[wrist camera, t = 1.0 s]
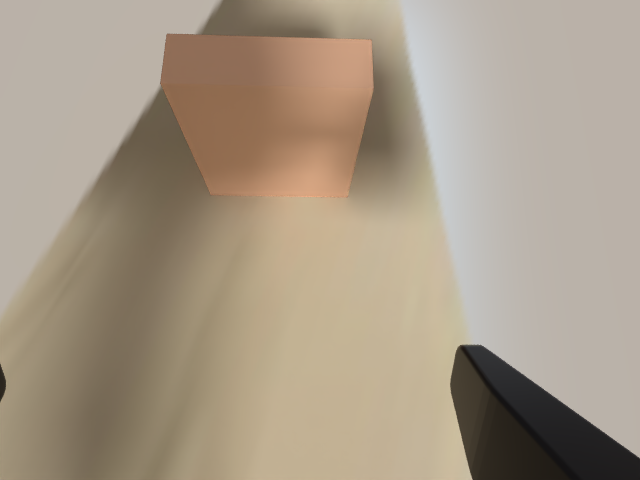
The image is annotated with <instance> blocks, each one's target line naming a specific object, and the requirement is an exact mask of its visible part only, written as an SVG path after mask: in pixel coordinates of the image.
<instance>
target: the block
mask: <svg viewBox="0 0 640 480" xmlns="http://www.w3.org/2000/svg"><path fill="white" fill-rule="evenodd" d="M160 84H161V86H162V88H163V90H164V92H165V95H166V97H167V99H168V101H169V103H170V106H171V108H172V110H173V112H174V114H175V117H176V119H177V121H178V123H179V125H180V128H181V130H182V132H183V134H184V136H185V139H186V141H187V143H188V145H189V147H190V150H191V152H192V154H193V156H194V158H195V161H196V163H197V165H198V167H199V170H200V172H201V174H202V176H203V178H204V181H205V183H206V185H207V187H208V189H209V192H210V194H211V195H234V196H299V197H348V193H349V188H350V184H351V180H352V176H353V172H354V168H355V164H356V160H357V155H358V151H359V147H360V143H361V139H362V135H363V131H364V127H365V122H366V118H367V114H368V110H369V106H370V102H371V98H372V94H373V89H374V84H373V61H372V40H365V39H331V38H297V37H262V36H228V35H193V34H167V35H166V43H165V51H164V59H163V67H162V74H161V82H160Z"/></svg>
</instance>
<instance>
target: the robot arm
mask: <svg viewBox="0 0 640 480" xmlns="http://www.w3.org/2000/svg"><path fill="white" fill-rule="evenodd" d="M450 387H451V394H452V398H453V403H454V407H455V411H456V415H457V420H458V424H459V428H460V432H461V436H462V441H463V445H464V449H465V453H466V457H467V461H468V465H469V469H470V473H471V476H472V479H473V480H640V458H639V457H637V456H636V455H635V454H633V453H632V452H630V451H629V450H628V449H626V448H625V447H623V446H622V445H621V444H619V443H617V442H616V441H615V440H613V439H612V438H611V437H609V436H608V435H607V434H605V433H604V432H602V431H601V430H600V429H598V428H597V427H595V426H594V425H593V424H591V423H590V422H589V421H587V420H586V419H584V418H583V417H581V416H580V415H579V414H577V413H576V412H575V411H573V410H572V409H570V408H569V407H568V406H566V405H565V404H563V403H562V402H561V401H559V400H558V399H556V398H555V397H553V396H552V395H551V394H549V393H548V392H547V391H545V390H544V389H542V388H541V387H540V386H538V385H537V384H535V383H534V382H533V381H531V380H530V379H528V378H527V377H526V376H524V375H523V374H521V373H520V372H519V371H517V370H516V369H515V368H513V367H512V366H510V365H509V364H507V363H506V362H505V361H503V360H502V359H501V358H499V357H498V356H496V355H495V354H493V353H492V352H491V351H489V350H488V349H486V348H485V347H484V346H482V345H460V346H459V347H458V348H457V350H456V354H455V360H454V365H453V370H452V375H451V382H450ZM5 389H6V380H5V376H4V373H3V370H2V367H1V364H0V401H1V399H2V397H3V395H4V392H5Z"/></svg>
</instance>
